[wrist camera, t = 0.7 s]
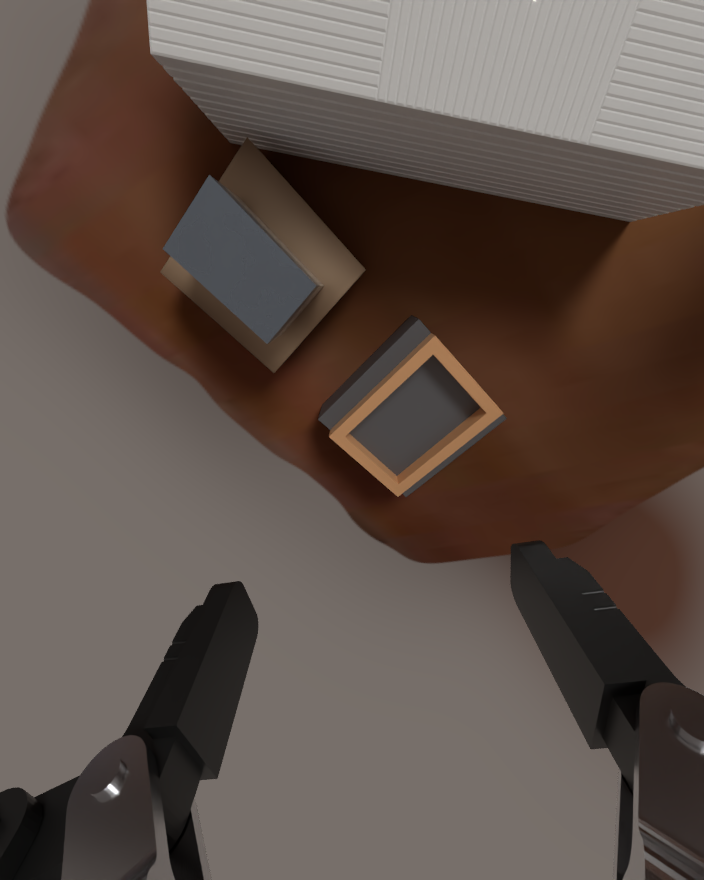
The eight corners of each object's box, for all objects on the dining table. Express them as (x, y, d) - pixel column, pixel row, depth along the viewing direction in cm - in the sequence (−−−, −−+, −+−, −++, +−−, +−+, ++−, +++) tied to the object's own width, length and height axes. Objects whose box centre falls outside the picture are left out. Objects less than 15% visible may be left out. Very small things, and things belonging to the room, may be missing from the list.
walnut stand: (263, 158, 25) (247, 136, 21) (364, 271, 28) (365, 269, 25) (185, 273, 29) (160, 272, 25) (283, 363, 32) (273, 373, 28)
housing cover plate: (222, 184, 20) (209, 174, 18) (319, 285, 22) (316, 285, 21) (178, 251, 22) (162, 248, 20) (274, 339, 24) (267, 344, 22)
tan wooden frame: (411, 314, 30) (422, 320, 25) (490, 403, 33) (513, 424, 28) (322, 404, 33) (316, 425, 28) (401, 476, 37) (408, 506, 32)
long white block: (231, 144, 25) (149, 53, 15) (231, -74, 20) (117, -402, 11) (627, 222, 27) (783, 185, 17) (709, 37, 22) (985, -159, 12)
